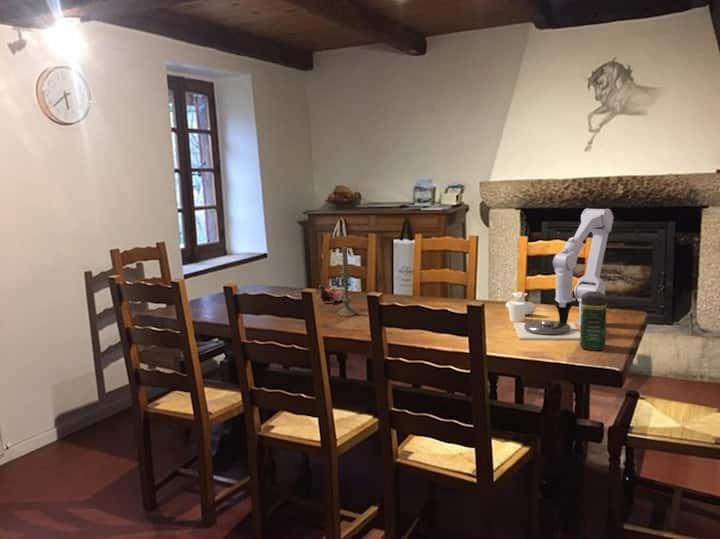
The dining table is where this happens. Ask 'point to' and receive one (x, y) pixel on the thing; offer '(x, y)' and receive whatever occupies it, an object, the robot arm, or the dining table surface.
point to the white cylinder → (517, 311)
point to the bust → (520, 298)
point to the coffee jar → (593, 321)
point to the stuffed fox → (331, 295)
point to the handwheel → (547, 327)
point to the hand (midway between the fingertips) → (563, 323)
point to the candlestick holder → (346, 285)
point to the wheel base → (526, 335)
